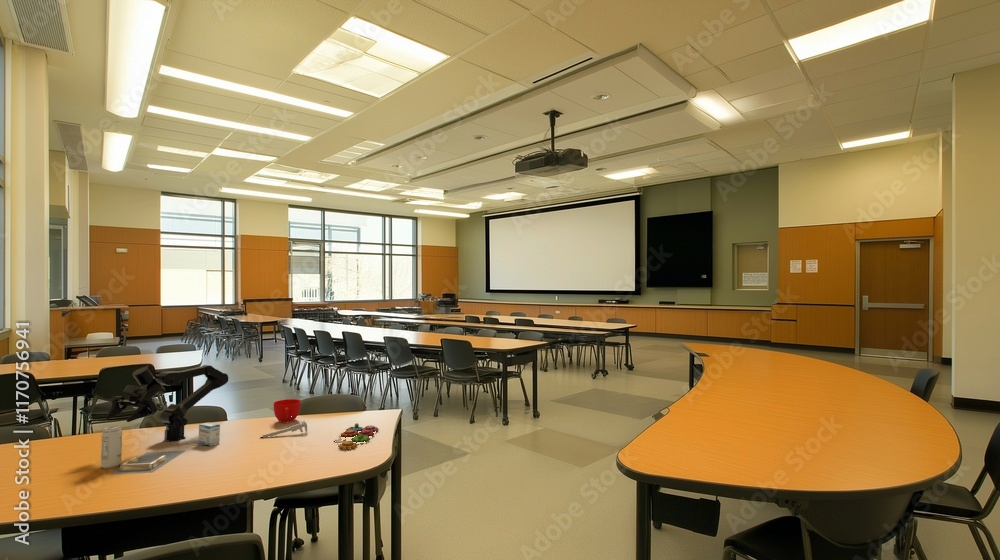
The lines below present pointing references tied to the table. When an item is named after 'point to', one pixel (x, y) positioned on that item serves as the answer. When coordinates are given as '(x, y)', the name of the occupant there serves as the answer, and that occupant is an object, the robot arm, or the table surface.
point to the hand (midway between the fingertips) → (116, 420)
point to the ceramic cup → (287, 409)
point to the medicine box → (209, 434)
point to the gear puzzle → (360, 436)
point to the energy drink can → (111, 447)
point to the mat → (150, 461)
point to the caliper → (288, 429)
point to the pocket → (141, 464)
